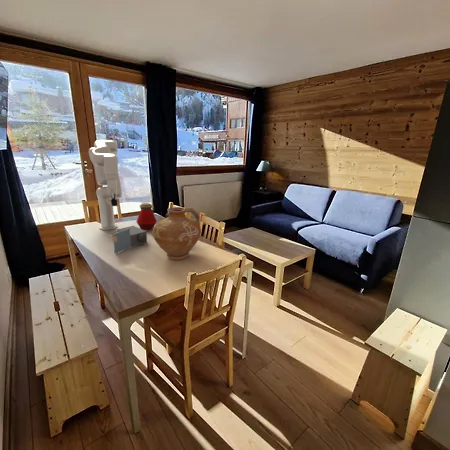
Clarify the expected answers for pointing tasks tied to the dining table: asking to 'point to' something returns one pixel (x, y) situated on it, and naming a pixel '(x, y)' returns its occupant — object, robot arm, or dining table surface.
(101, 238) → the dining table surface
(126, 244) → the side door
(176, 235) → the jug
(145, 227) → the bottle
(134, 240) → the box
